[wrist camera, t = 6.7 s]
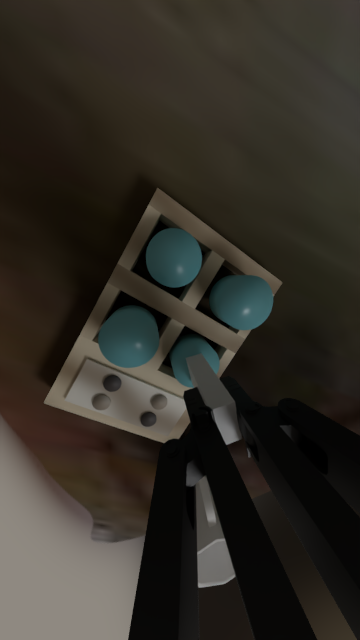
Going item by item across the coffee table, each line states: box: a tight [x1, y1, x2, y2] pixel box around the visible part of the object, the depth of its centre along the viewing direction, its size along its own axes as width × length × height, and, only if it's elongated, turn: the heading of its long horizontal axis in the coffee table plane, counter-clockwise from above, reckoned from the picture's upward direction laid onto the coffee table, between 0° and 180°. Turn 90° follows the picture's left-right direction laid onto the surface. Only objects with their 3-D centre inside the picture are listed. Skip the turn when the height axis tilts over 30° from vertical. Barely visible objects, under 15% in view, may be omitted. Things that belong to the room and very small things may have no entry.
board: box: [44, 188, 282, 443], centre depth 18 cm, size 21×14×2 cm, turn 149°
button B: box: [209, 275, 273, 330], centre depth 16 cm, size 4×4×3 cm
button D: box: [169, 334, 220, 388], centre depth 18 cm, size 4×4×3 cm
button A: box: [146, 228, 202, 288], centre depth 15 cm, size 4×4×3 cm
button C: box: [98, 305, 159, 368], centre depth 15 cm, size 4×4×3 cm
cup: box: [196, 475, 235, 588], centre depth 20 cm, size 7×10×8 cm
